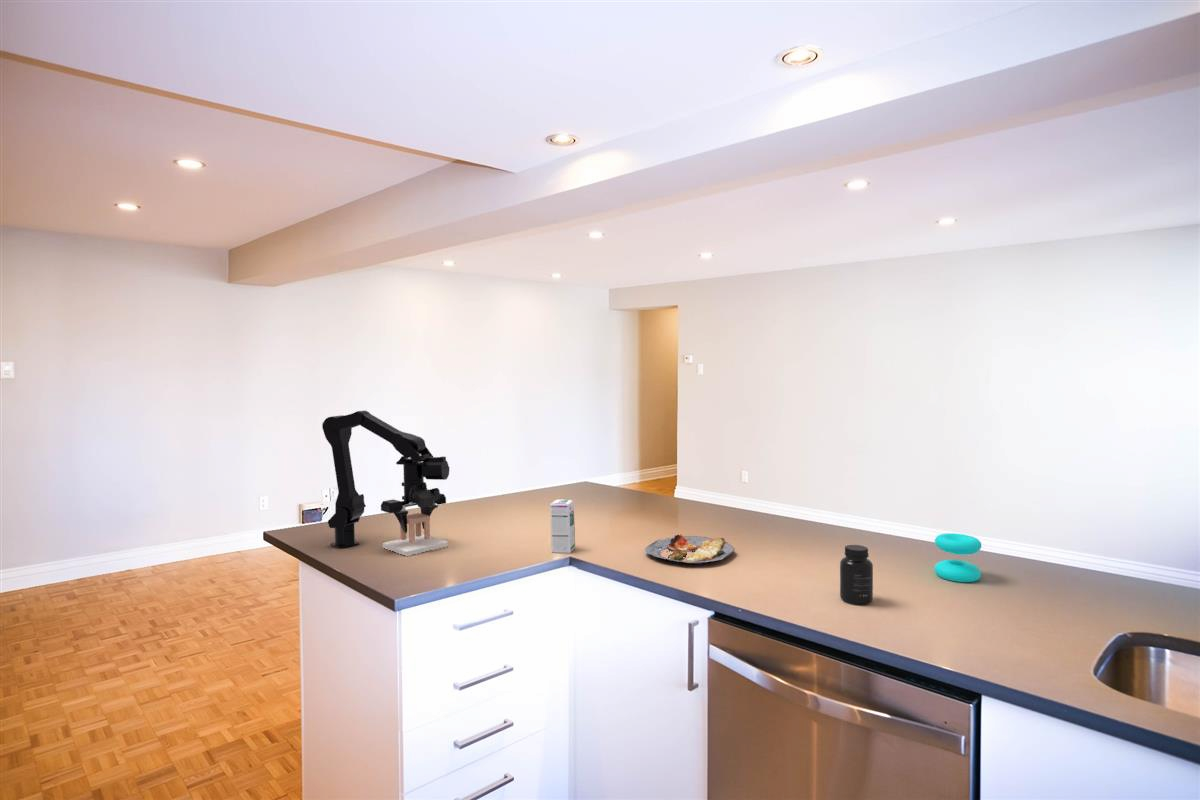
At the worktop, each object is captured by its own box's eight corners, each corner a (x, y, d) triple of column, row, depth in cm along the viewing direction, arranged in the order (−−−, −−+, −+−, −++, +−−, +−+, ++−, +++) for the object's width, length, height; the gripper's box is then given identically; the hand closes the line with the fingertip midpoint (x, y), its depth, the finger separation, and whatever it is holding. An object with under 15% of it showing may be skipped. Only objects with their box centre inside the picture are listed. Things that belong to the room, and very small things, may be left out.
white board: (382, 547, 191) (382, 543, 191) (424, 538, 201) (423, 534, 201) (406, 556, 182) (406, 551, 181) (448, 546, 192) (448, 541, 192)
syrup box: (570, 553, 182) (569, 503, 182) (550, 552, 184) (549, 502, 183) (575, 548, 188) (574, 499, 187) (556, 547, 189) (555, 498, 189)
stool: (411, 543, 187) (410, 519, 186) (400, 539, 191) (399, 516, 191) (430, 538, 191) (429, 515, 191) (419, 535, 196) (418, 512, 196)
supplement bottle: (834, 595, 146) (834, 543, 145) (863, 594, 146) (863, 542, 146) (848, 606, 139) (849, 552, 138) (878, 605, 139) (879, 550, 139)
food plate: (670, 538, 197) (670, 527, 197) (744, 549, 185) (744, 537, 185) (633, 562, 175) (632, 549, 175) (713, 575, 164) (713, 562, 163)
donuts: (990, 542, 152) (947, 542, 152) (989, 583, 152) (947, 584, 152) (967, 531, 162) (927, 532, 162) (966, 570, 162) (927, 570, 162)
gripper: (398, 486, 178) (399, 541, 179) (455, 478, 192) (456, 529, 192) (379, 482, 186) (380, 535, 187) (435, 474, 199) (436, 523, 200)
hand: (415, 530), depth 191 cm, fingers closed on stool, 6 cm apart
